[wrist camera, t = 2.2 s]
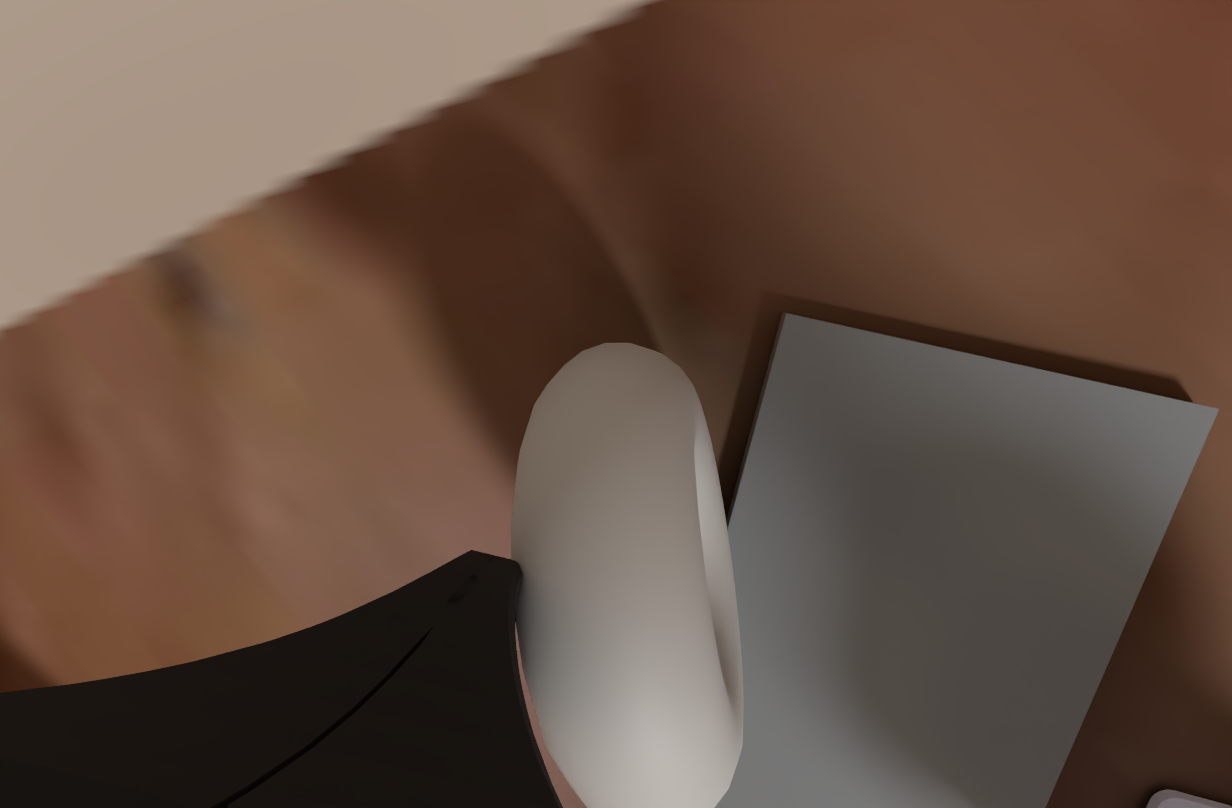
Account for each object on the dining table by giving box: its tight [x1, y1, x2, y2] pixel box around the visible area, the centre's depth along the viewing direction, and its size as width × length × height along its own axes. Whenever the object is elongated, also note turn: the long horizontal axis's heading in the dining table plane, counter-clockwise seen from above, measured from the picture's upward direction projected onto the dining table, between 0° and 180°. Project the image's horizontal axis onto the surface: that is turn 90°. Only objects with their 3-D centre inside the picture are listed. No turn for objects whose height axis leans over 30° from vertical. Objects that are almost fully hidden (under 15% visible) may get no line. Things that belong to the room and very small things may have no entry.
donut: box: [511, 343, 744, 808], centre depth 14 cm, size 10×4×10 cm, turn 11°
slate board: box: [715, 312, 1219, 808], centre depth 19 cm, size 11×22×1 cm, turn 168°
